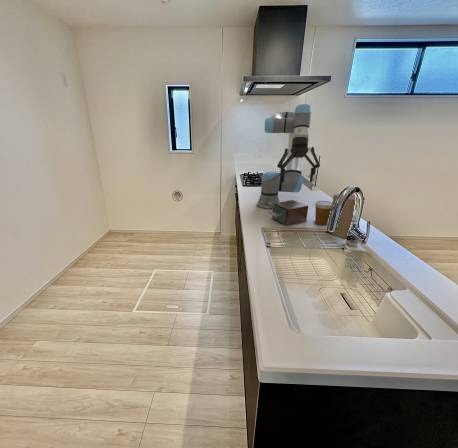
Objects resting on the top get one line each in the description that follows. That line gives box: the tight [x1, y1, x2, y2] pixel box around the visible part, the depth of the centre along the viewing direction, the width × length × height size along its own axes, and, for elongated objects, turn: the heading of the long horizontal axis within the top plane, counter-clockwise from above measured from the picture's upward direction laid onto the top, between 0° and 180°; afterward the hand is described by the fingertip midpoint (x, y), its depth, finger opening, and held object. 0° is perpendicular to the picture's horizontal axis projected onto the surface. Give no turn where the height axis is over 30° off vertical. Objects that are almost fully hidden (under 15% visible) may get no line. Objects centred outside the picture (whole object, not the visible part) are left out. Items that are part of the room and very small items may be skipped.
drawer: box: [267, 205, 287, 225], centre depth 138 cm, size 18×11×8 cm, turn 116°
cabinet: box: [274, 199, 309, 226], centre depth 139 cm, size 15×13×10 cm
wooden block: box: [326, 193, 366, 239], centre depth 119 cm, size 10×10×20 cm
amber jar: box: [314, 200, 332, 226], centre depth 134 cm, size 10×10×12 cm
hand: (296, 181), depth 118 cm, fingers open, 13 cm apart
